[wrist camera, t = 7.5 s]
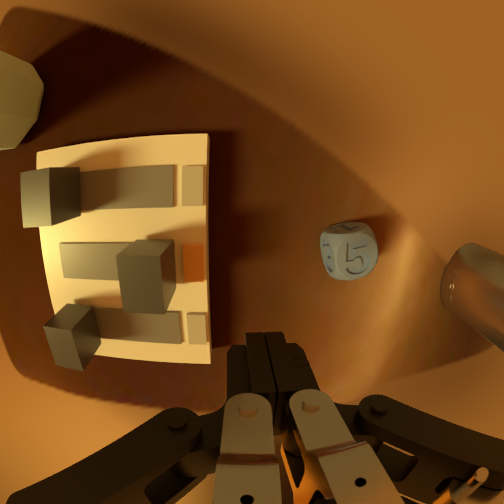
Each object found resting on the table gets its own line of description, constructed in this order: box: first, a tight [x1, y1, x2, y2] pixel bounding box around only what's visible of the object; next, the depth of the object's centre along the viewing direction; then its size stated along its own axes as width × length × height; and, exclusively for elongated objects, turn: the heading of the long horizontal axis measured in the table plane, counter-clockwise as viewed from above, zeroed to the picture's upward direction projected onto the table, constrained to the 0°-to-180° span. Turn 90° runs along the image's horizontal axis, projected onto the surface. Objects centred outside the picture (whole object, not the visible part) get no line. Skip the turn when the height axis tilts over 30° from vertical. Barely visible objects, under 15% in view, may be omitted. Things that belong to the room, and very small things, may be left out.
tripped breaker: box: [116, 239, 176, 314], centre depth 19 cm, size 3×4×4 cm
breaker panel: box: [37, 134, 212, 364], centre depth 22 cm, size 16×20×3 cm
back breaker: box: [43, 303, 101, 371], centre depth 20 cm, size 3×4×4 cm
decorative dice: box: [320, 222, 378, 280], centre depth 23 cm, size 4×4×4 cm
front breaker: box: [21, 167, 81, 228], centre depth 17 cm, size 3×4×4 cm
